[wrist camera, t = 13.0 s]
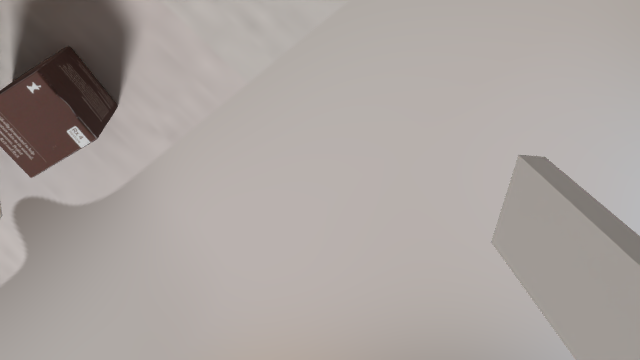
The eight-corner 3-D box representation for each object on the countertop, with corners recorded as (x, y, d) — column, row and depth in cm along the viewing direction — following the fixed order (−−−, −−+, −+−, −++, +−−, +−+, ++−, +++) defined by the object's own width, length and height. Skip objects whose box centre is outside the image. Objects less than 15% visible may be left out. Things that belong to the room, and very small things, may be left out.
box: (9, 81, 43) (-35, 112, 36) (70, 43, 42) (36, 67, 35) (62, 142, 45) (30, 180, 39) (121, 107, 44) (98, 140, 38)
